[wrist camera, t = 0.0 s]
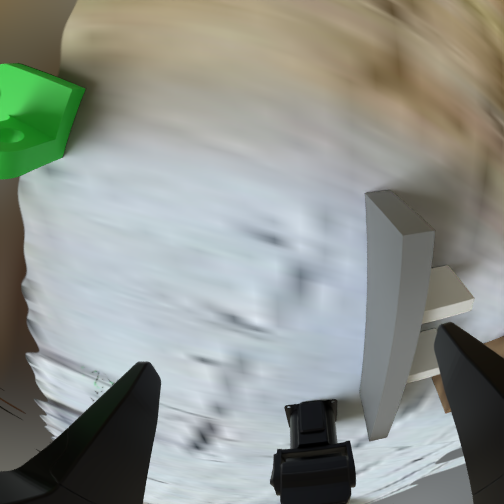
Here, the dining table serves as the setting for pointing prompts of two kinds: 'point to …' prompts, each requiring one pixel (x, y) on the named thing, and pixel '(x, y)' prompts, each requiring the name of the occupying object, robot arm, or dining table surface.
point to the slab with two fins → (401, 306)
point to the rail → (498, 345)
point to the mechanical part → (34, 118)
